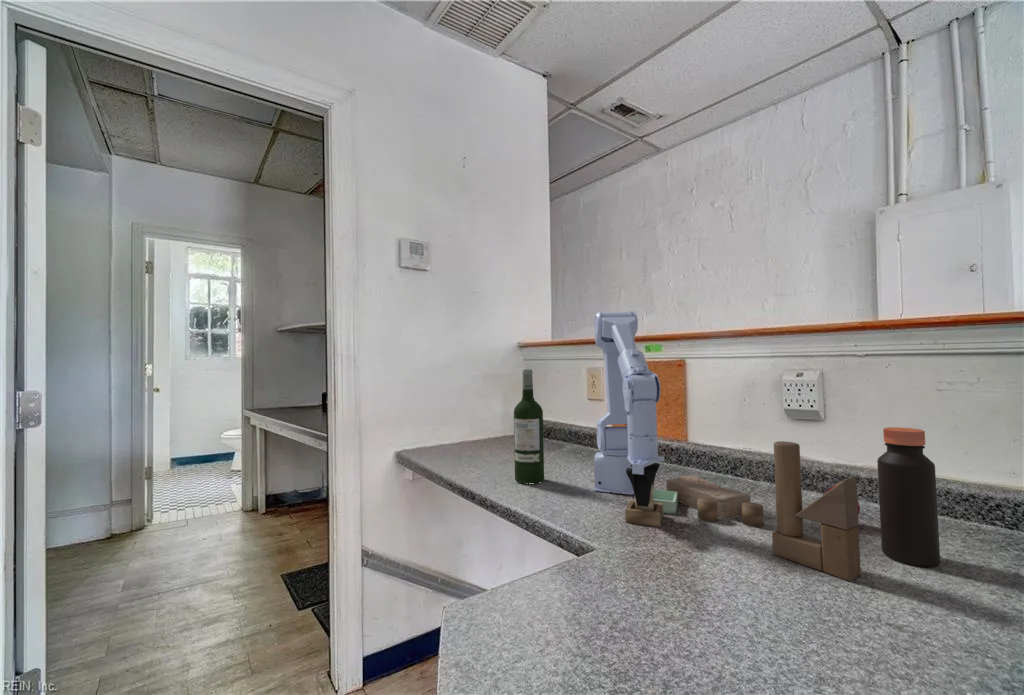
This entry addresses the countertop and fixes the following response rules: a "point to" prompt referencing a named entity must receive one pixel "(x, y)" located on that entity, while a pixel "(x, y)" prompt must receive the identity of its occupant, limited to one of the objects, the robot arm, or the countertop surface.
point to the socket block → (644, 514)
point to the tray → (666, 500)
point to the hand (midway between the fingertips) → (644, 502)
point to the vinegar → (908, 499)
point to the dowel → (651, 503)
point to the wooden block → (815, 519)
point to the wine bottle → (528, 435)
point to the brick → (708, 495)
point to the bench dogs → (750, 512)
